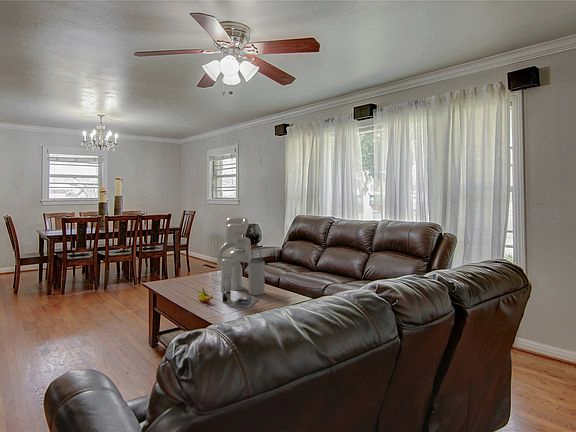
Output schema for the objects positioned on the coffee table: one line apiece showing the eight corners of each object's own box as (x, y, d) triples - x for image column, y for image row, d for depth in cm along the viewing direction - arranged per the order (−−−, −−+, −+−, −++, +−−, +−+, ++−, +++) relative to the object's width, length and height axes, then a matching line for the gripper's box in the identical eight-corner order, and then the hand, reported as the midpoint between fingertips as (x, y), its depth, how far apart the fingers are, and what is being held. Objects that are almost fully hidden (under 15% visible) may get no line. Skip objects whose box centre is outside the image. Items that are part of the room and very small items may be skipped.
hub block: (224, 300, 273) (224, 293, 272) (230, 300, 272) (230, 294, 271) (222, 302, 268) (222, 295, 268) (228, 302, 267) (228, 295, 267)
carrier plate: (240, 298, 278) (240, 295, 278) (258, 299, 275) (258, 296, 275) (230, 306, 259) (230, 302, 258) (249, 307, 256) (249, 304, 255)
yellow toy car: (204, 305, 260) (204, 291, 260) (194, 299, 275) (194, 286, 274) (213, 303, 264) (213, 290, 264) (203, 298, 279) (203, 284, 278)
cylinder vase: (265, 291, 297) (265, 260, 296) (263, 295, 285) (263, 263, 283) (250, 291, 299) (250, 260, 297) (247, 295, 286) (247, 263, 285)
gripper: (226, 273, 278) (226, 296, 279) (216, 278, 261) (217, 303, 262) (235, 273, 276) (235, 297, 277) (226, 278, 259) (227, 304, 261)
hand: (226, 299), depth 270 cm, fingers open, 6 cm apart
